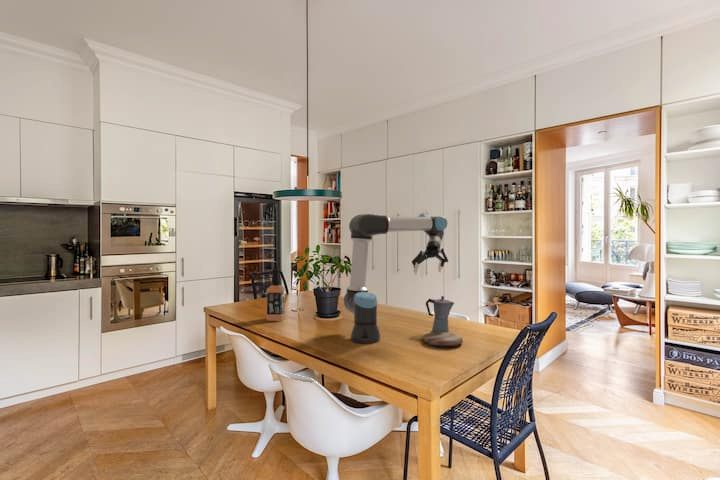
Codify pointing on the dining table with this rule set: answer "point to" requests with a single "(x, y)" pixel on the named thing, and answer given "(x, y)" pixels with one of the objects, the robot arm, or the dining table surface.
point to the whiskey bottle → (275, 299)
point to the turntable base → (442, 346)
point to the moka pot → (440, 314)
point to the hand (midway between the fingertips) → (426, 271)
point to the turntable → (443, 339)
